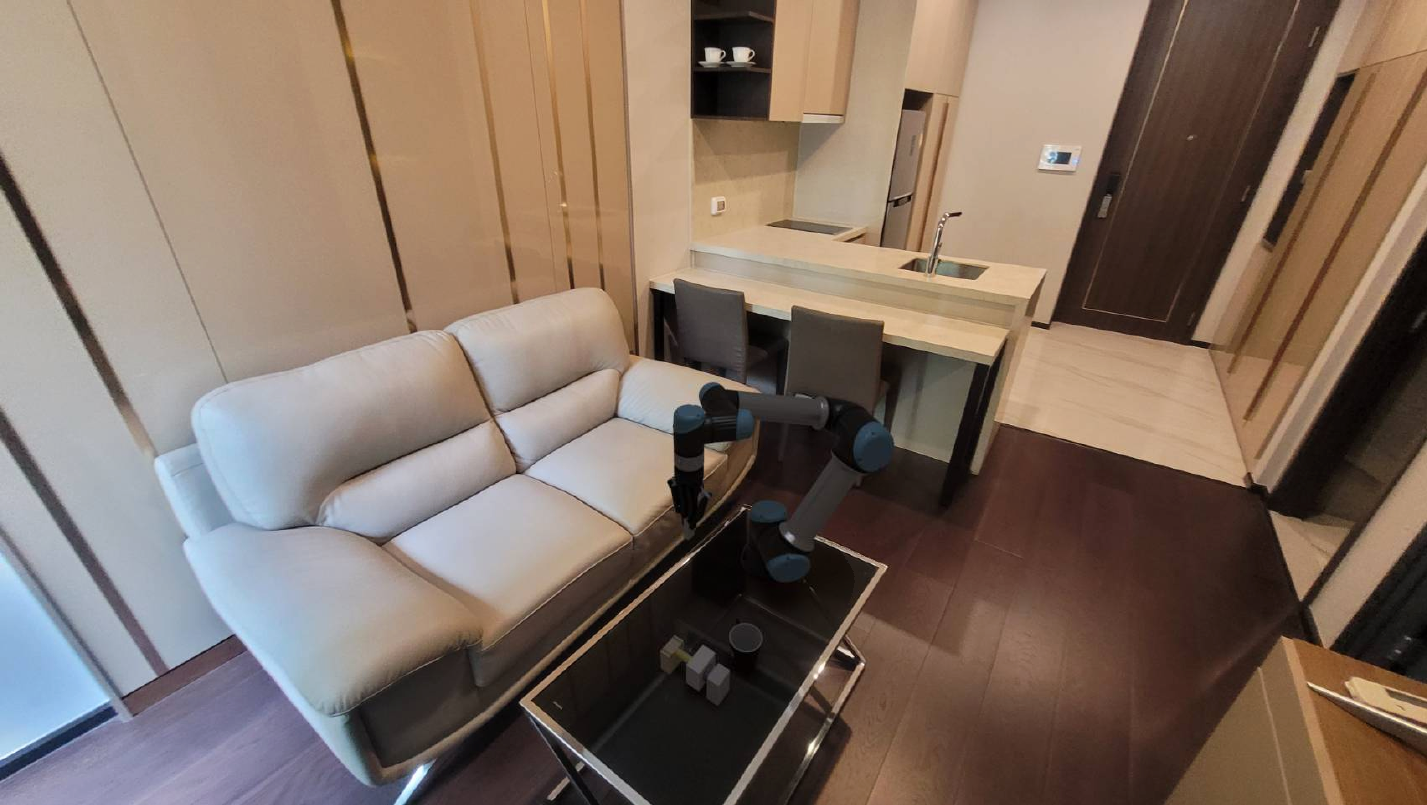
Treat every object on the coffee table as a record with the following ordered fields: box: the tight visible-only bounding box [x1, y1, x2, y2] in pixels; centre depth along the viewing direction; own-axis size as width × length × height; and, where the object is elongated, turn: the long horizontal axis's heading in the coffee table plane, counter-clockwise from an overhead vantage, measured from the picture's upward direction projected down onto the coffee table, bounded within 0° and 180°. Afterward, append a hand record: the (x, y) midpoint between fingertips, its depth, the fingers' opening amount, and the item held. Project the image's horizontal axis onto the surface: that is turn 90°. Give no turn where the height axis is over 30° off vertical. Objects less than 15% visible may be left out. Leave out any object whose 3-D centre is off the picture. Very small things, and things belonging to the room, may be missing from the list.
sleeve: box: [685, 644, 717, 692], centre depth 132 cm, size 4×7×7 cm, turn 145°
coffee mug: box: [728, 617, 763, 674], centre depth 139 cm, size 12×9×10 cm
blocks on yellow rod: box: [659, 634, 731, 707], centre depth 134 cm, size 18×6×8 cm, turn 55°
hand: (689, 536), depth 140 cm, fingers closed
